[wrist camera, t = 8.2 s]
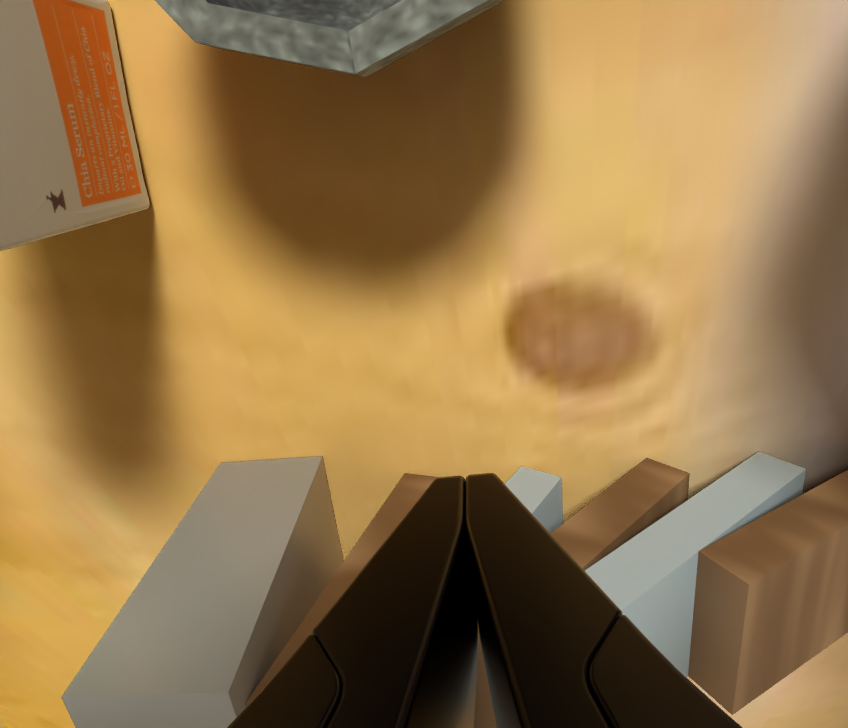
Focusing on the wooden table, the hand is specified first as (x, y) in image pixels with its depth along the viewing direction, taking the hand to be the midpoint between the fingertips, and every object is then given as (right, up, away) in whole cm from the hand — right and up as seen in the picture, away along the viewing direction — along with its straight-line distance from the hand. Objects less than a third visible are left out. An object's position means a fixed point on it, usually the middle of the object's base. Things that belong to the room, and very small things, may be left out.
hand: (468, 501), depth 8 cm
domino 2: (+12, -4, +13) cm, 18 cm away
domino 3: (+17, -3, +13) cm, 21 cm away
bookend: (-6, -5, +16) cm, 17 cm away
